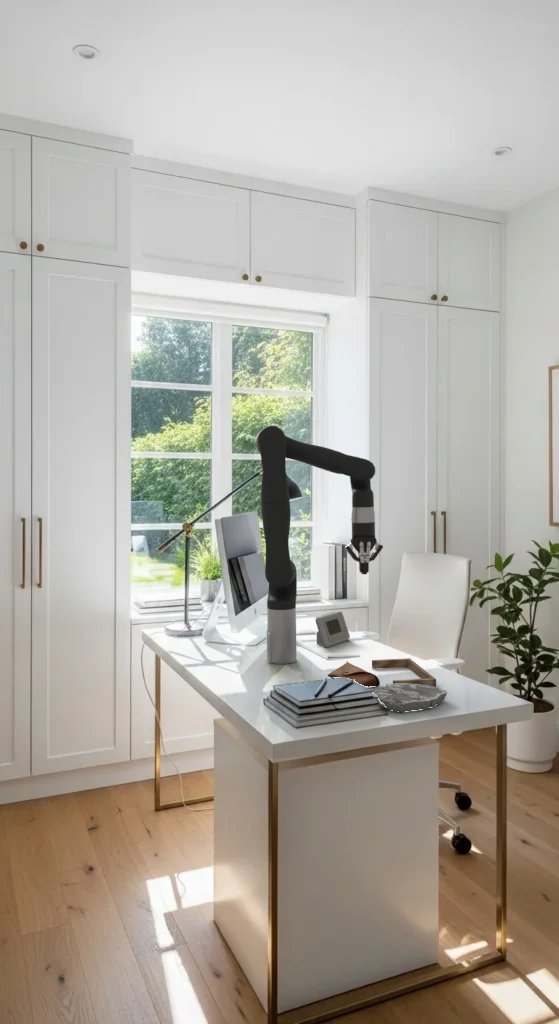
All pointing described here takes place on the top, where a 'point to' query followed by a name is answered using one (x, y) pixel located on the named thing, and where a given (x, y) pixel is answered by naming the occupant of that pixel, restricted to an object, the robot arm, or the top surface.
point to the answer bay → (401, 663)
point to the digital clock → (332, 629)
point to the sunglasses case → (356, 675)
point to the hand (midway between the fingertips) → (364, 573)
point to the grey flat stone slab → (409, 696)
